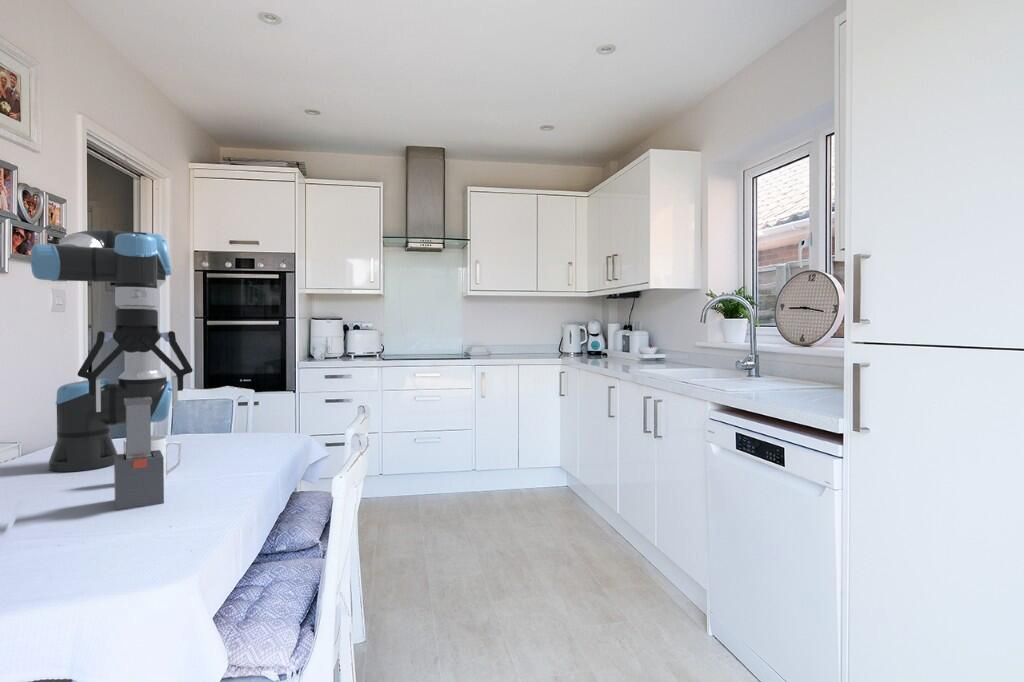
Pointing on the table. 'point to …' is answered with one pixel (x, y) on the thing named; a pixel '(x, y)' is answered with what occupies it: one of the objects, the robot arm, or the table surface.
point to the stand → (138, 481)
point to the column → (138, 427)
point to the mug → (162, 450)
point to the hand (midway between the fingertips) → (138, 408)
